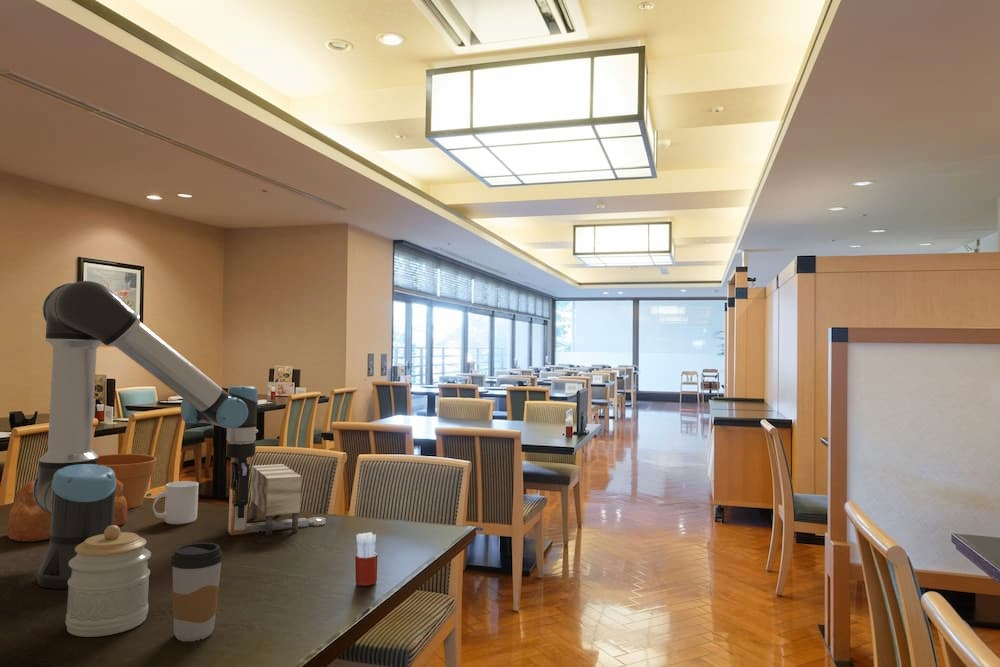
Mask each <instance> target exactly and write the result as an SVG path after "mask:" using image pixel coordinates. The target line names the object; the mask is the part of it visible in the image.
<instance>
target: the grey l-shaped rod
mask: <svg viewBox="0 0 1000 667" xmlns="http://www.w3.org/2000/svg"><path fill="white" fill-rule="evenodd" d="M228 503H229V504H228V525H227V526H228V527H227V532H228V534H229V535H230V536H235V535H244V534H250V533H252V534H253V533H259V531H261V532H266V521H259V522H257V521H256V522H249V523H247V522H248V504H246V519H245V529H243V530H234V519H235V506H233V504H236V487H234V488H231V487H229V502H228ZM308 519H309V518H306V517H300V518H299V517H298V528H306V526H307V527H309V525H308ZM288 529H292V518H287V519H277V520H272V531H278V530H288Z"/></svg>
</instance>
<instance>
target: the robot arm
mask: <svg viewBox="0 0 1000 667" xmlns="http://www.w3.org/2000/svg"><path fill="white" fill-rule="evenodd" d="M42 315H43V319H44V321H45V322H46V326H45V341H46V342H47V343H48V344H49V345H50V346H52V363H51V381H50V398H49V399H50V400H49V401H50V402H49V415H48V416H49V417H48V418H49V419H48V420H49V421H48V438H47V451H46V453H44V454H43V455H42V456H40V458H39V459H38V471H37V472H38V473H37V475H36V477H35V479H34V480H35V482H34V485H33V495H34V499H35V501H36V502H37V504H38V505H39V507H40V508H41V509H42V510H44V511H45V512H47V513H49V514H50V515H51V525H50V539H49V544H48V547H47V550H46V552H45V555H44V557H43V559H42V562H41V563H40V567H39V568H38V571H37V585H38V586H40V587H42V588H45V589H56V590H58V589H59V590H60V589H64V590H65V589H68V583H67V582H68V580H69V578H70V577H71V573H72V568H70V566H69V564H68V563H69V561H70V560H71V559H72V558H73V557H75V556H76V555H77V553H76V552H75V547H76V546H78V545H79V544H81V543H83V542H84V541H85V540H86V539H87V538H90V537H92V536H96V535H100V534H104V531H105V529H106V528H107V527H108V526H111V525H113V522H114V504H115V489H116V480H115V473H114V471H113V470H112V469H111V468H109V467H107V466H103V465H101V466H98V456H99V455H98V454H97V453H96V452H95V451H94V450H93V449H92V448H93V446H92V445H93V442H92V441H93V426H94V423H93V422H94V408H95V407H94V406H95V405H94V404H95V388H96V386H95V385H96V384H95V382H96V366H97V364H96V363H97V349H98V348H99V347H100V346H101V345H102V344H103V345H104V346H106V347H113V346H114V347H115V348H116V349H118V350H119V351H120V352H122V353H123V354H124V355H126V356H127V357H129V359H131V360H132V361H133V362H135V363H136V364H137V365H139V366H140V367H142V368H143V369H144V370H145V371H146V372H148V373H149V374H151V375H152V376H153V377H154V378H156V379H157V380H159V382H161V383H163V384H164V385H165V386H166V387H167V388H169V389H170V390H172V391H173V392H174V393H175V394H177V395H178V396H180V398H182V400H181V402H180V415H181V419H182V420H183V422H184V423H186V424H198V423H199V424H201V423H203V424H204V423H205V424H210V425H213V426H217V427H221V428H224V429H226V441H227V444H226V450H225V451H226V452H225V455H226V457H227V458H230V459H231V458H232V459H233V461H231V463H230V465H231V470H230V471H231V472H230V473H231V474H230V488H234V487H236V504H233V506H235V519H234V530H243V529H245V519H246V504H247V505H248V504H249V483H250V482H249V480H250V472H251V469H250V464H249V463H248V458H252V457H254V456H255V455H256V446H257V445H256V442H255V441H256V440H257V439H256V438H257V433H259V429H257V418H258V417H257V416H258V404H259V400H258V399H259V397H258V396H259V395H258V389H257V387H255V386H252V385H251V386H250V385H232V386H230V387H229V389H228V391H226V390H224V389H223V388H222V387H221V386H220V385H219V384H217V383H216V382H215V381H213V380H212V379H211V378H210V377H209V376H207V375H206V374H205V373H204V372H203V371H201V370H200V369H199V368H198V367H197V366H195V364H193V363H192V362H190V361H189V360H188V359H186V357H185V356H183V355H182V354H180V352H178V351H177V350H176V349H174V348H173V347H172V346H171V345H169V343H167V342H166V341H165V340H164V339H162V338H161V337H160V336H158V335H157V334H156V333H155V332H153V330H151V329H150V328H149V327H148V326H146V325H145V323H143V322H141V320H140V318H141V316H140V314H139V313H138V312H136V310H134V309H133V308H132V307H131V306H130V305H128V304H127V303H126V302H125V301H124V300H123V299H122V298H121V297H119V296H118V295H117V294H116V293H115V292H113V291H112V290H111V289H109V288H108V287H106V286H105V285H103V284H101V283H99V282H97V281H90V280H80V281H76V282H68V283H64V284H61V285H59V286H57V287H56V288H54V289H52V291H50V292H49V294H48V295H46V297H45V299H44V301H43V303H42Z"/></svg>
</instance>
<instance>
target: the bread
mask: <svg viewBox="0 0 1000 667" xmlns="http://www.w3.org/2000/svg"><path fill="white" fill-rule="evenodd" d="M115 480H116V489H115V504H114V522H113V525H116V526H118V527H120V526H123V525H125V524H126V523H127V522H128V509H127V503H126V499H125V498H124V496H123V483H122V482H120V481H119V480H117V479H116V477H115ZM34 482H35V479H34V480H33V479H32V480H30V481H27V482H26V483H25V484H23V486H21V487H20V488H19V489H18V490H17V491H16V492H15V495H14V504H13V505H12V506H11V509H10V511H9V516H8V520H7V526H6V532H7V533H6V536H7V537H8V538H9V539H10V540H13V541H16V542H22V543H23V542H24V543H25V542H29V543H30V542H38V541H43V540H50V525H51V515H50V514H49V513H47V512H45V511H44V510H42V509H41V508H40V507H39V505H38V504H37V502H36V501H35V499H34V495H33V485H34Z"/></svg>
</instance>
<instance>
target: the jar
mask: <svg viewBox="0 0 1000 667" xmlns="http://www.w3.org/2000/svg"><path fill="white" fill-rule="evenodd" d="M146 545H147V540H146V538H143V537H141V536H139V535H138V534H136V533H135V532H127V531H126V532H125V531H121V529H120V526H116V525H111V526H108V527H107V528H106V529H105V531H104V534H100V535H96V536H92V537H90V538H87V539H86V540H85V541H84V542H83V543H81V544H79V545H78V546H76V547H75V552H76V553H77V555H76V556H75V557H73V558H72V559H71V560H70V561H69V563H68V564H69V566H70V568H72V573H71V577H70V578H69V580H68V582H67V583H68V588H67V590H68V591H67V605H66V606H67V609H66V615H65V625H66V631H67V632H68V633H69V634H70V635H73V636H77V637H85V638H94V637H95V638H96V637H104V636H105V637H106V636H111V635H116V634H119V633H123V632H127V631H129V630H132V629H134V628H136V627H138V626H139V625H140V626H141V624H143V622H145V621H146V619H147V616H148V613H149V606H150V604H149V584H150V583H149V582H150V575H151V570H150V569H149V568H148V561H149V559H150V558H151V557H152V552H151V551H150V550H149V549H147V548H145V546H146Z"/></svg>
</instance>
